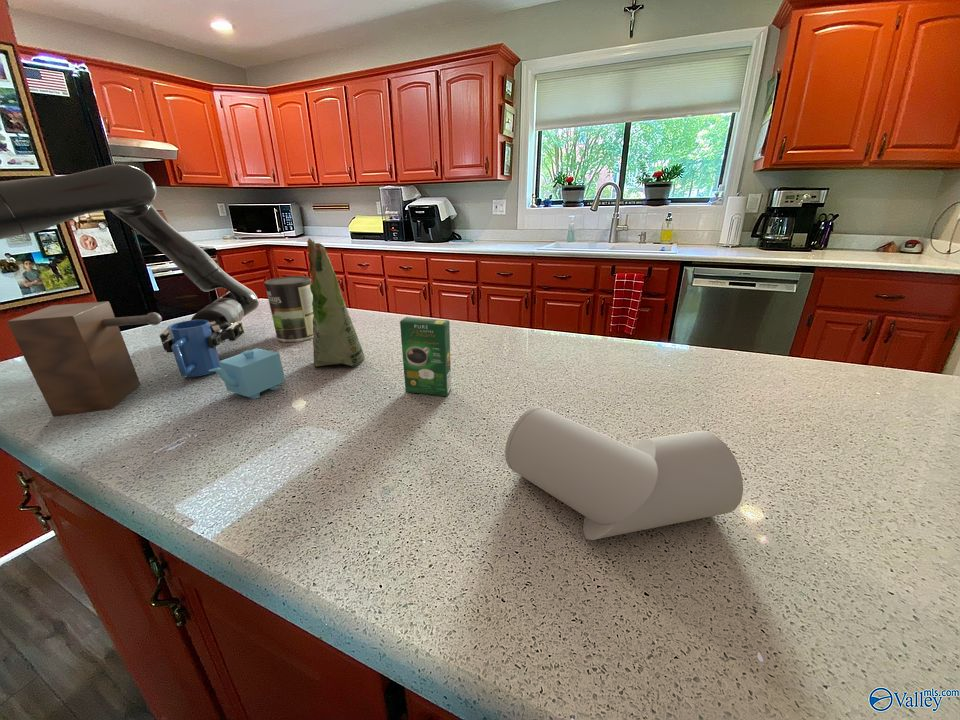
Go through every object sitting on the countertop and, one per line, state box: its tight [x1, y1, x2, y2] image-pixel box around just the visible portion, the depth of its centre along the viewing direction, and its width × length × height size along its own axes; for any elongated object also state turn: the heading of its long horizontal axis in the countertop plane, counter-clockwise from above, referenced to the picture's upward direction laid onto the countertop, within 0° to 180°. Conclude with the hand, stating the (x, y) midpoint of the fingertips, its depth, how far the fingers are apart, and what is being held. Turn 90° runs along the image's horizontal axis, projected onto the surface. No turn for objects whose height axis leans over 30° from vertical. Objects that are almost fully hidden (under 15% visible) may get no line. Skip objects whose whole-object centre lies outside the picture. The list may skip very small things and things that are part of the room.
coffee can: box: [263, 275, 314, 343], centre depth 97 cm, size 10×10×14 cm
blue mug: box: [167, 319, 221, 378], centre depth 75 cm, size 11×6×10 cm, turn 16°
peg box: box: [6, 300, 163, 417], centre depth 67 cm, size 16×10×16 cm, turn 107°
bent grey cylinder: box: [504, 406, 744, 541], centre depth 43 cm, size 18×11×20 cm
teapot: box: [209, 347, 286, 400], centre depth 69 cm, size 12×6×8 cm, turn 153°
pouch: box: [306, 237, 366, 368], centre depth 78 cm, size 11×12×25 cm
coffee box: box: [399, 316, 452, 397], centre depth 67 cm, size 8×3×13 cm, turn 76°
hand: (189, 345), depth 74 cm, fingers closed on blue mug, 6 cm apart
